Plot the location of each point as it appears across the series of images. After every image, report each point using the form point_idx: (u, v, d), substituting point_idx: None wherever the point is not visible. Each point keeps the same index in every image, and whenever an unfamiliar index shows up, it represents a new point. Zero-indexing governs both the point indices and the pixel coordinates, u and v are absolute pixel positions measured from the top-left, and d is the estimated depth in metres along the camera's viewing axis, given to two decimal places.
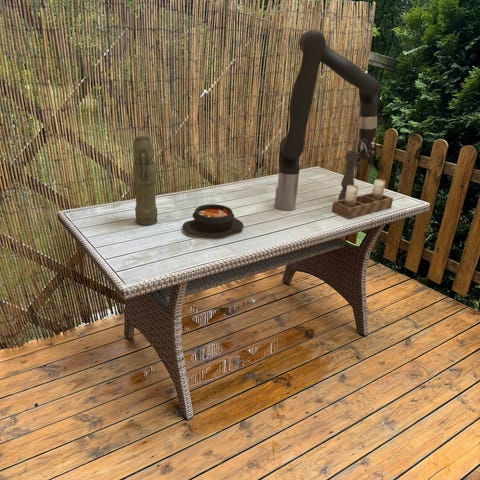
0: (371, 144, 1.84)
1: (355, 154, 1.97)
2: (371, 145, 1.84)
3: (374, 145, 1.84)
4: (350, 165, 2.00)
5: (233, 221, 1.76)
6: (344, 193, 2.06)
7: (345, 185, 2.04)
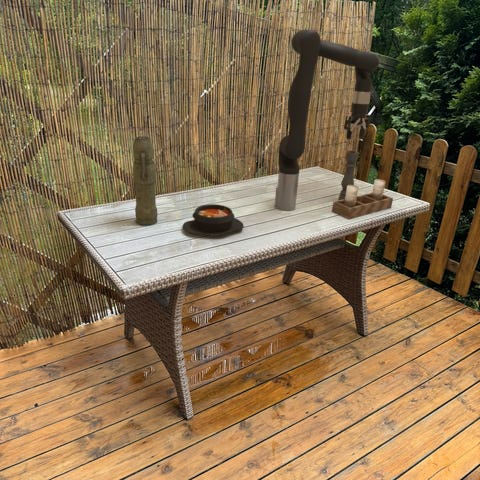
0: (346, 117, 1.89)
1: (355, 154, 1.97)
2: (346, 118, 1.90)
3: (348, 119, 1.89)
4: (350, 165, 2.00)
5: (233, 221, 1.76)
6: (344, 193, 2.06)
7: (345, 185, 2.04)
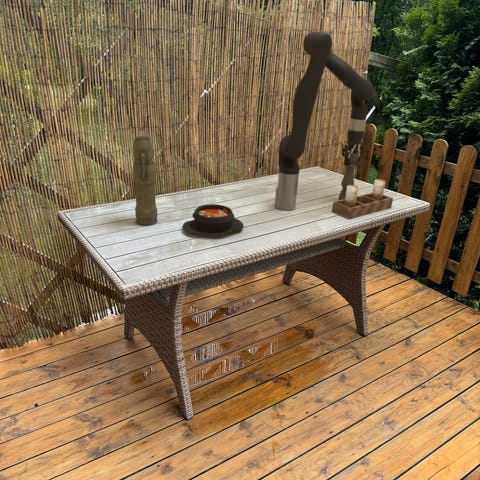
0: (342, 145, 1.95)
1: (355, 154, 1.97)
2: (342, 146, 1.95)
3: (344, 147, 1.94)
4: (350, 165, 2.00)
5: (233, 221, 1.76)
6: (344, 193, 2.06)
7: (345, 185, 2.04)
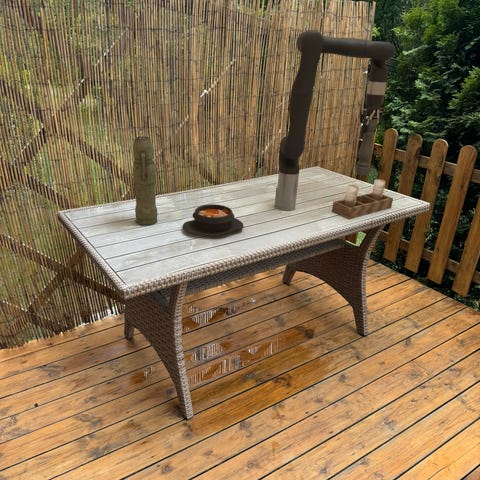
0: (361, 111, 1.82)
1: (374, 120, 1.85)
2: (360, 112, 1.82)
3: (363, 113, 1.81)
4: (368, 133, 1.87)
5: (233, 221, 1.76)
6: (362, 164, 1.93)
7: (363, 155, 1.91)
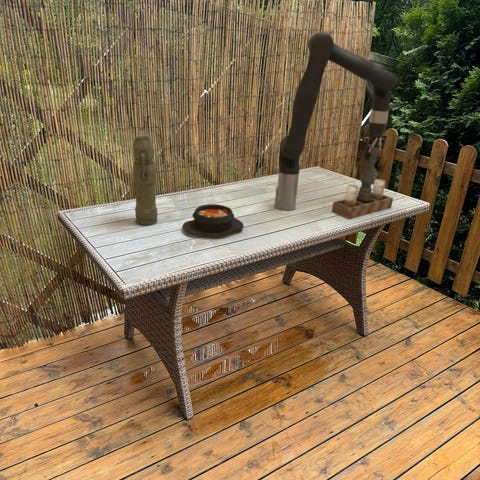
0: (363, 139, 1.84)
1: (376, 148, 1.86)
2: (363, 140, 1.84)
3: (365, 141, 1.83)
4: (371, 160, 1.89)
5: (233, 221, 1.76)
6: (364, 189, 1.95)
7: (365, 181, 1.93)
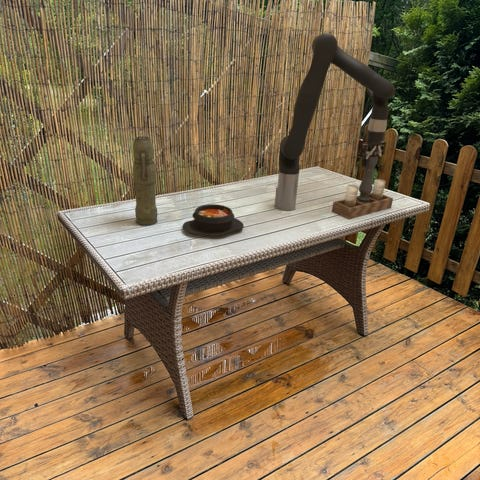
0: (362, 145, 1.85)
1: (374, 158, 1.88)
2: (362, 146, 1.85)
3: (364, 147, 1.84)
4: (369, 169, 1.91)
5: (233, 221, 1.76)
6: (362, 199, 1.97)
7: (363, 190, 1.95)
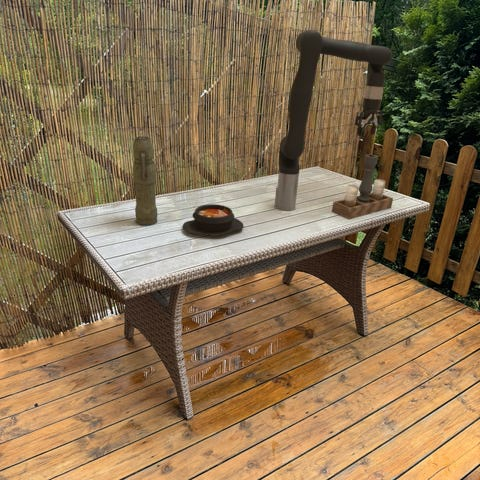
0: (358, 112, 1.82)
1: (374, 158, 1.88)
2: (357, 113, 1.83)
3: (360, 114, 1.82)
4: (369, 170, 1.91)
5: (233, 221, 1.76)
6: (362, 199, 1.97)
7: (363, 190, 1.95)
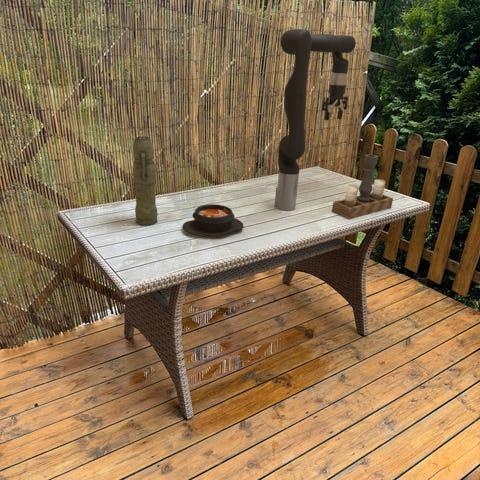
0: (324, 98, 1.94)
1: (374, 158, 1.88)
2: (324, 99, 1.94)
3: (326, 100, 1.93)
4: (369, 170, 1.91)
5: (233, 221, 1.76)
6: (362, 199, 1.97)
7: (363, 190, 1.95)
